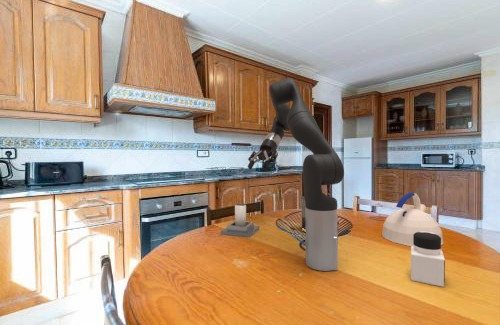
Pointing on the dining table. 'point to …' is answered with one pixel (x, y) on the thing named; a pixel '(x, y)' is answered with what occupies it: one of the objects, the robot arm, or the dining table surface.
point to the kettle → (409, 222)
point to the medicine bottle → (427, 259)
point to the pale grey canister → (240, 215)
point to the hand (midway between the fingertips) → (256, 168)
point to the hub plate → (240, 229)
